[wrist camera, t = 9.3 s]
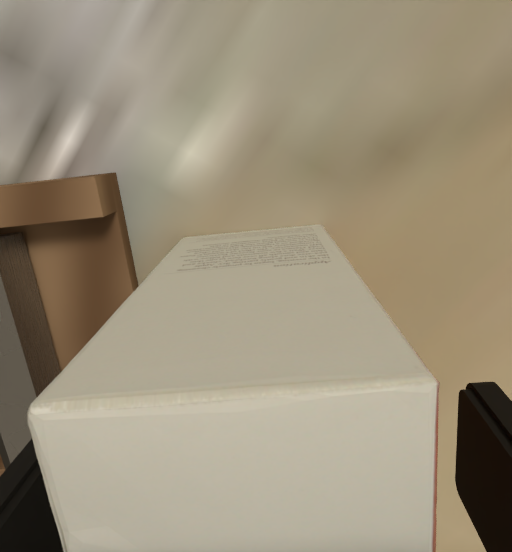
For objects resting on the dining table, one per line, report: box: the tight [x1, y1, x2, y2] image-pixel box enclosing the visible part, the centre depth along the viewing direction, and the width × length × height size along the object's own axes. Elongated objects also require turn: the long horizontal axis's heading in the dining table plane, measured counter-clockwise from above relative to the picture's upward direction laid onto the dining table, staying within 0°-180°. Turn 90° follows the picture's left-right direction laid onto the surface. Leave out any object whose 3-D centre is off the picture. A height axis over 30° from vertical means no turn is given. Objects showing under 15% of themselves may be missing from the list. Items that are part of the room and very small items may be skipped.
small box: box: [27, 224, 440, 552], centre depth 13 cm, size 8×6×13 cm
